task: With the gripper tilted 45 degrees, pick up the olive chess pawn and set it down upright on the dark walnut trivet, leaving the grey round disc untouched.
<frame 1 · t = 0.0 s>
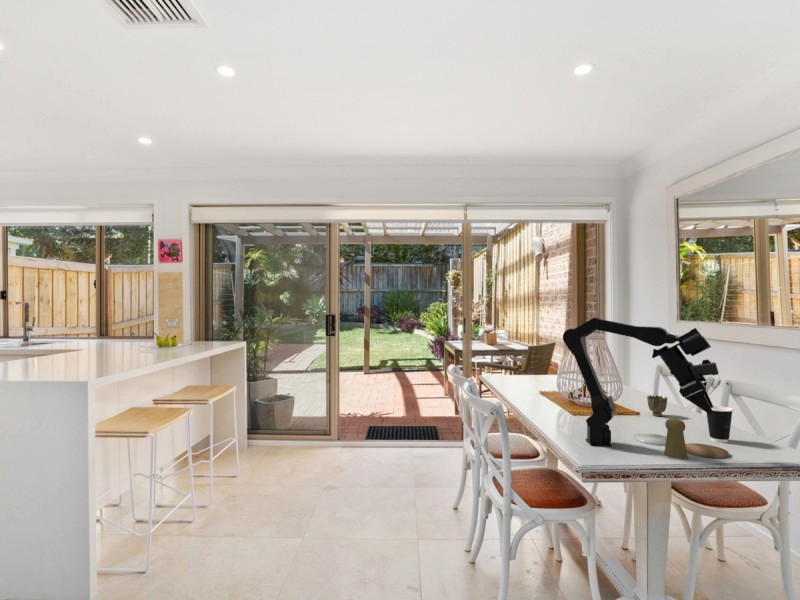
hand: (711, 410, 134), 15 cm above the table, tool tilted 35°, fingers open, 9 cm apart
cup: (657, 416, 190), on the table
grey round disc: (653, 441, 155), on the table
dixie cup: (719, 441, 155), on the table
walnut trivet: (704, 452, 142), on the table
olive chess pawn: (675, 456, 139), on the table
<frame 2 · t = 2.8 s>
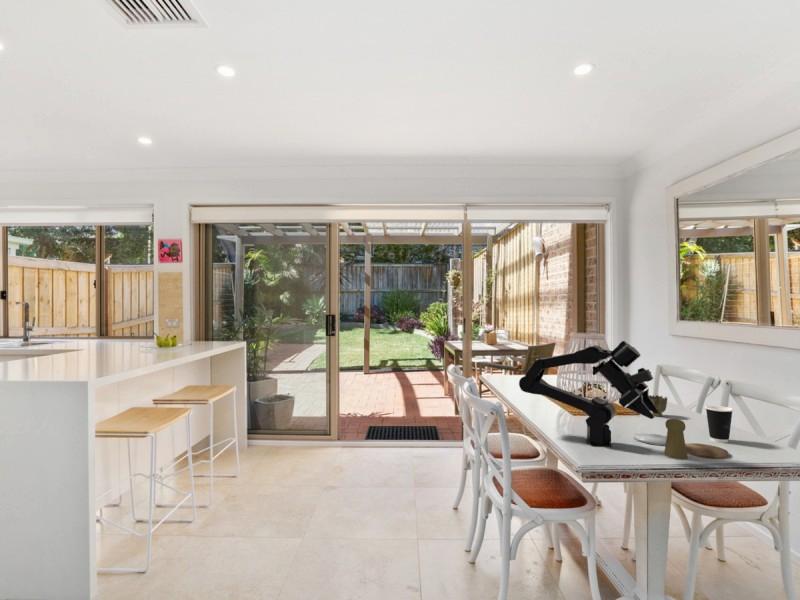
hand: (655, 415, 142), 12 cm above the table, tool tilted 45°, fingers open, 9 cm apart
nothing on the table moved.
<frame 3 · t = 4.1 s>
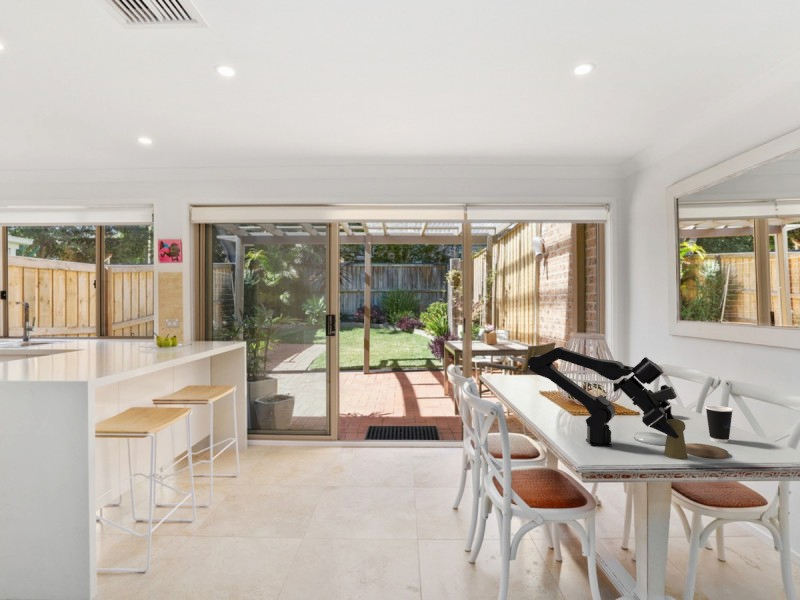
hand: (679, 434, 138), 7 cm above the table, tool tilted 45°, fingers open, 9 cm apart
nothing on the table moved.
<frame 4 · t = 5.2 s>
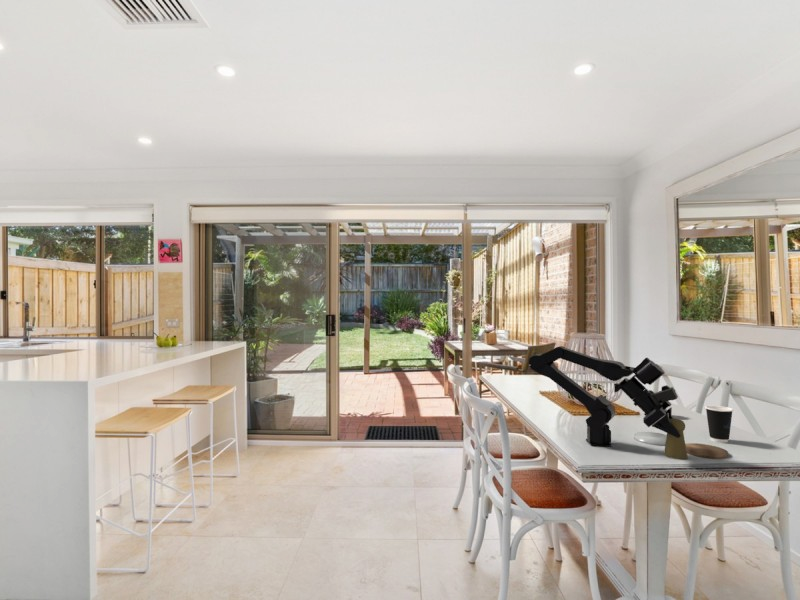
hand: (680, 434, 138), 7 cm above the table, tool tilted 45°, fingers closed on olive chess pawn, 5 cm apart
olive chess pawn: (675, 455, 139), on the table, touching gripper
everything else where it was.
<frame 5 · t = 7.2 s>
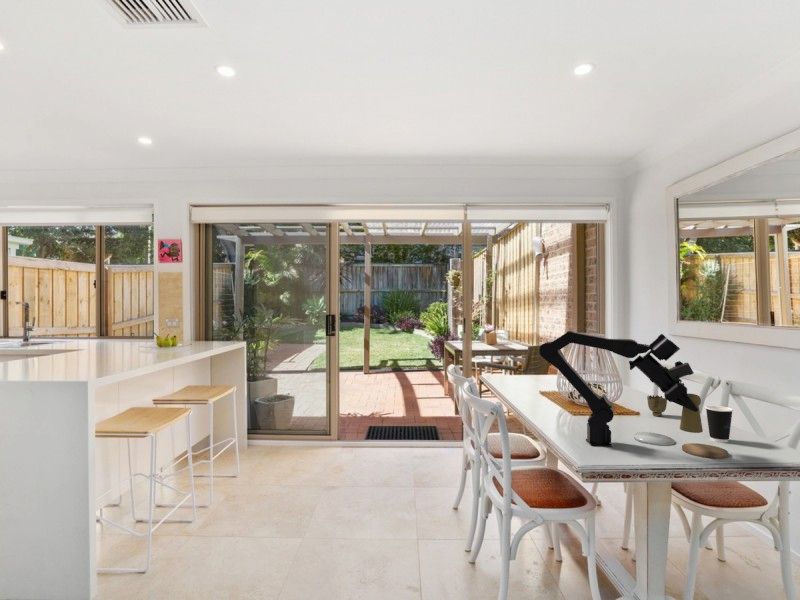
hand: (696, 409, 139), 14 cm above the table, tool tilted 45°, fingers closed on olive chess pawn, 5 cm apart
olive chess pawn: (691, 430, 140), point 7 cm above the table, touching gripper
everything else where it was.
when the fingers open (9 cm above the table, at t = 9.5 s): olive chess pawn drops 1 cm, resting on walnut trivet.
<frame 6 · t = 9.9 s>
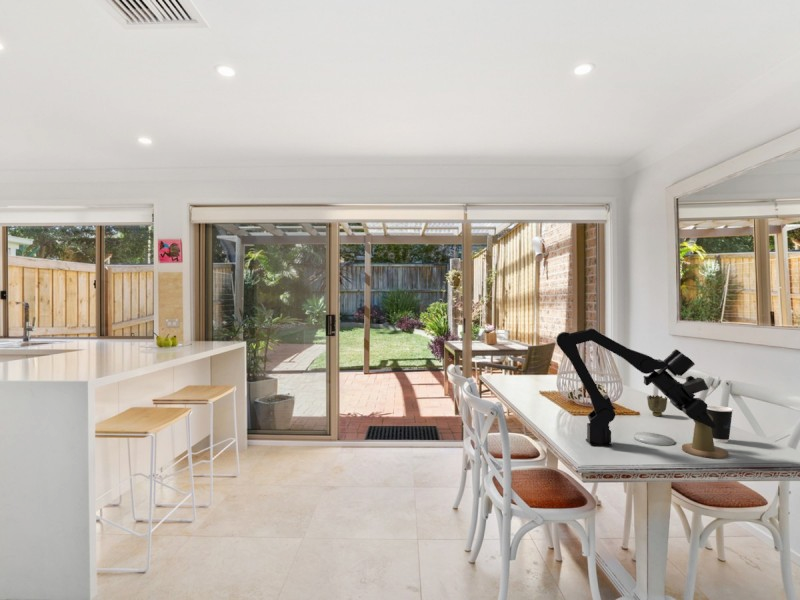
hand: (709, 423, 142), 9 cm above the table, tool tilted 45°, fingers open, 9 cm apart
olive chess pawn: (703, 449, 143), point 1 cm above the table, touching walnut trivet
everything else where it was.
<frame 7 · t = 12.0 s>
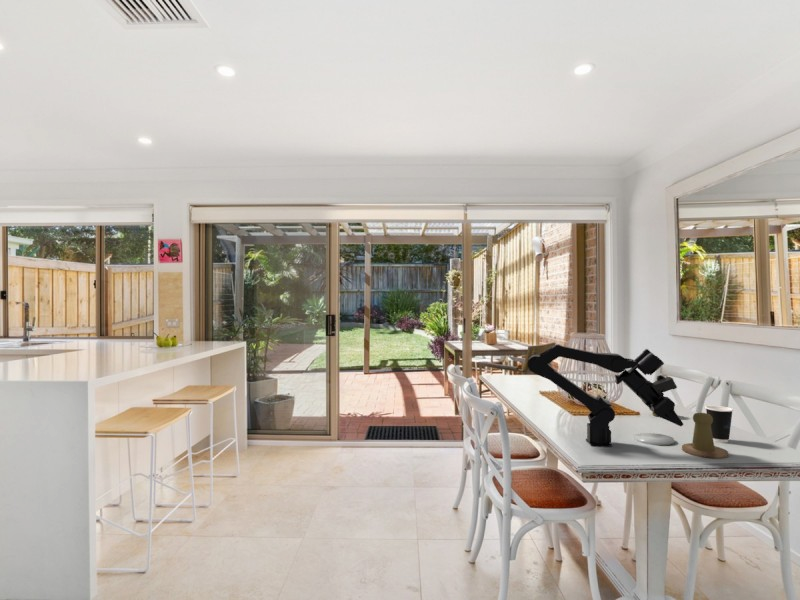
hand: (678, 421, 144), 9 cm above the table, tool tilted 45°, fingers open, 9 cm apart
nothing on the table moved.
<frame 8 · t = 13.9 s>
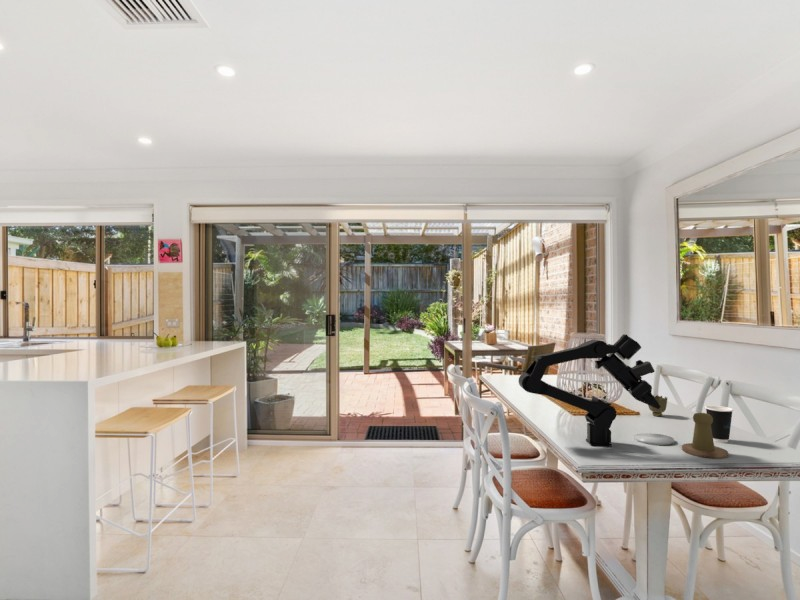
hand: (656, 405, 147), 14 cm above the table, tool tilted 45°, fingers open, 9 cm apart
nothing on the table moved.
at the end: olive chess pawn 0.4 cm off-centre on the walnut trivet, point 0.8 cm above the walnut trivet's base; olive chess pawn tilted 0°; grey round disc moved 0.1 cm from its start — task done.
